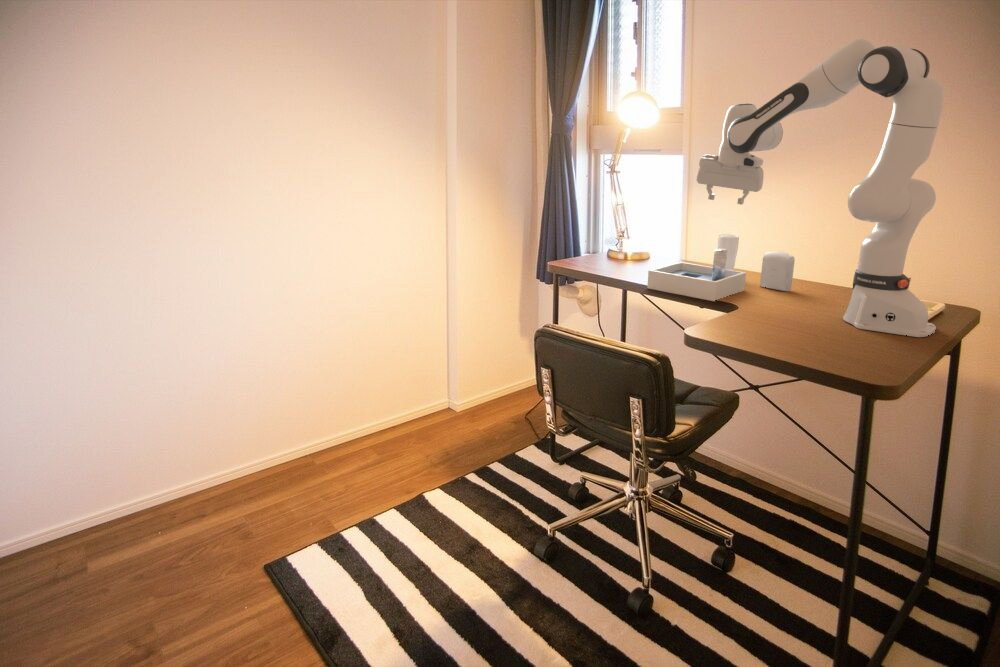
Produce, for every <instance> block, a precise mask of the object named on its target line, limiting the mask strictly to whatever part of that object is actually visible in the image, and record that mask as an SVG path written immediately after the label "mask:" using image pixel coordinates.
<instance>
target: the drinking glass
mask: <svg viewBox="0 0 1000 667" xmlns="http://www.w3.org/2000/svg"><path fill="white" fill-rule="evenodd" d="M717 240H718V241H717V249H726V250H728V252H727V261H726V269H728V270H734V271H735V266H736V260H737V256H738V250H739V240H740V236H739V235H737V234H729V233H728V234H727V233H724V234H719V235H718V238H717Z"/></svg>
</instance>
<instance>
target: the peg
mask: <svg viewBox="0 0 1000 667" xmlns="http://www.w3.org/2000/svg"><path fill="white" fill-rule="evenodd" d="M713 252H714V253H713V261H712V267H713V270H712V281H717V280H720V279H723V278H725V270H726V261H727V252H728V250H726V249H718V248H715V249H714V251H713Z"/></svg>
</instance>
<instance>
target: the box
mask: <svg viewBox="0 0 1000 667" xmlns="http://www.w3.org/2000/svg"><path fill="white" fill-rule="evenodd" d="M712 270H713V266H708V265H703V264H702V265H701V264H696V263H689V262H684V261H683V262H682V261H678V262H674V263H671V264H668V265H667V264H666V265H664V266H659V267H656V268H653V269H649V270H648V271H647V273H648V274H647V287H646V288H647V289H650V290H655V291H658V292H659V291H660V292H665V293H670V294H675V295H679V296H680V295H681V296H686V297H691V298H695V299H700V300H706V301H711V302H716V301H715V300H717V299H719V298H722V297H725V296H728V297H730V296H729V295H731V296H733V295H736V294H738V292H739V293H741V292H743V290H744V291H745V286H746V285H745V284H746V279H747V278H746V276H747V272H745V271H739V270H735V269H734V270H728V269H726V270H725V278H723V279H720V280H717V281H712ZM735 293H736V294H735ZM732 294H733V295H732ZM725 298H726V297H725ZM722 299H723V298H722ZM717 301H718V300H717Z"/></svg>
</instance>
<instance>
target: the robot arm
mask: <svg viewBox="0 0 1000 667" xmlns="http://www.w3.org/2000/svg"><path fill="white" fill-rule="evenodd" d="M930 68H931V66H930V61H929V59H928V57H927V55H926V54H925V53H923V52H922V51H920V50H919V49H916V48H908V47H905V46H900V45H899V46H898V45H894V46H893V45H892V46H889V45H887V46H886V45H885V46H884V45H883V46H880V47H876V46H875V45H874V44H873V43H872V42H871V41H868V40H867V39H864V38H858V39H854V40H853V41H851V42H848V43H847V44H845V45H844V46H842V47H841V48H838V49H837V50H836V51H834V52H833V53H832V54H831V55H828V57H826V58H825V59H824V60H822V61H821V62H820V63H818V65H816V66H815V67H814V68H813V69H812V70H810V71H809V72H808V73H806V75H804V76H802V77H801V78H800V79H798V80H797V81H796V82H795V83H793V84H791V85H790V86H789V87H787V88H786V89H784V90H783V91H782V92H780V93H779V94H777V95H776V96H774V97H773V98H771V99H770V100H769V101H767V102H766V103H765V104H763V105H762V106H760V108H757V106H756V105H755V104H752V103H738V104H732V105H731V106H730V107H729V108H728V110H727V111H726V115H725V117H724V118H725V119H724V121H723V127H722V141H721V144H720V146H719V151H718V155H714V154H707V153H706V154H705V155H702V156H701V157H700V159H699V168H698V172H697V176H696V181H697V184H700V185H706V191H707V193H708V199H707V200H709V201H710V200H712V201H714V200H715V196H716V193H713V191H712V189H713V187H719V188H720V187H721V188H726V189H732V190H739V191H740V190H741V191H742V196H741V197H739V198H737V202H736V203H737V205H740V206H741V205H744V203H745V199H746V198H747V197H748V195H749V194H750V192H755V193H757V192H760V191H761V190H762V189H763V186H764V185H763V184H764V169H763V167H762V166H763V164H764V159H763V158H761V157H758V156H757V155H755V154H753V153H751V152H762V151H770V150H773V149H775V148H777V147H778V146H779V145H780V143H781V142H782V138H783V133H784V130H783V127H782V124H781V123H780V122H781V121H782V120H784V119H785V118H787V117H789V116H790V115H793V114H795V113H799V112H802V111H806V110H812V109H818V108H823V107H827V106H829V105H831V104H834V103H835V102H837V101H839V100H841V99H842V98H844V97H845V96H847V95H848V94H849V93H850V92H852V91H853V90H854V89H856V88H857V87H858V86H860V85H862V86H863V87H864V88H866V89H868V90H869V91H871V92H873V93H875V94H877V95H880V96H882V97H883V98H891V100H892V104H893V105H892V110H891V114H890V118H889V122H888V125H887V128H886V132H885V135H884V139H883V143H882V144H881V145H882V146H881V149H880V151H879V154H878V156H877V158H876V160H875V161H874V163H873V165H872V167H871V169H869V172H868V173H867V174H866V175H865V178H863V179H862V180H861V182H859V183H858V184H857V185H856V186H855V187H853V188H852V189H851V191H850V192H849V194H848V198H847V208H848V211H849V213H850V214H851V216H852V217H853V218H854V219H857V220H860V221H863V222H869V223H875V225H874V227H873V229H872V230H871V232H870V233H869V234H868V235H867V236H866V237H865V238H864V239H863V240H862V243H861V245H860V251H859V255H858V256H859V257H858V263H857V268H856V270H855V271H854V275H853V281H852V294H851V297H850V300H849V303H848V305H847V309H846V311H845V313H844V315H843V317H842V319H843V321H845V322H847V323H848V324H851V325H853V326H854V327H855V328H857V329H860V330H867V331H873V332H879V333H880V332H881V333H887V334H894V335H900V336H906V335H907V337H915V338H924V337H929V336H932V335H933V334H935V332H936V331H937V326H936V325H935V324H934V323H931V322H929V311H928V307H927V305H926V303H924V302H923V301H922V300H920V299H919V298H918V297H917V296H916V295H915V294H914V293H913V292H912V291H911V290H909V287H910V284H911V283H910V282H911V280H912V277H908V276H906V275H905V274H904V269H905V264H906V259H907V254H908V249H909V245H910V243H911V241H912V239H913V236H914V234H915V232H916V230H917V228H918V226H919V225H920V223H921V221H922V220H923V218H924V217H926V215H927V214H929V212H930V211H931V210H932V209H934V208H933V207H934V205H935V203H936V199H937V198H936V194H937V193H936V191H935V189H934V187H933V186H932V184H930V183H929V182H926V181H925V180H920V179H917V178H913V175H914V174H915V172H916V171H917V170H918V169H919V168H920V167H921V166H922V165H923V164H925V162H927V160H928V159H929V158H930V155H931V151H932V148H933V144H934V142H935V138H936V135H937V130H938V128H939V124H940V121H941V116H942V111H943V107H944V106H943V103H944V97H945V94H944V92H945V91H944V87H943V85H942V83H941V82H939V81H938V80H936V79H933V78H931V77H930V78H929V77H928V76H929V72H930ZM935 330H936V331H935ZM932 333H933V334H932ZM931 334H932V335H931ZM928 335H929V336H928Z"/></svg>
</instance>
